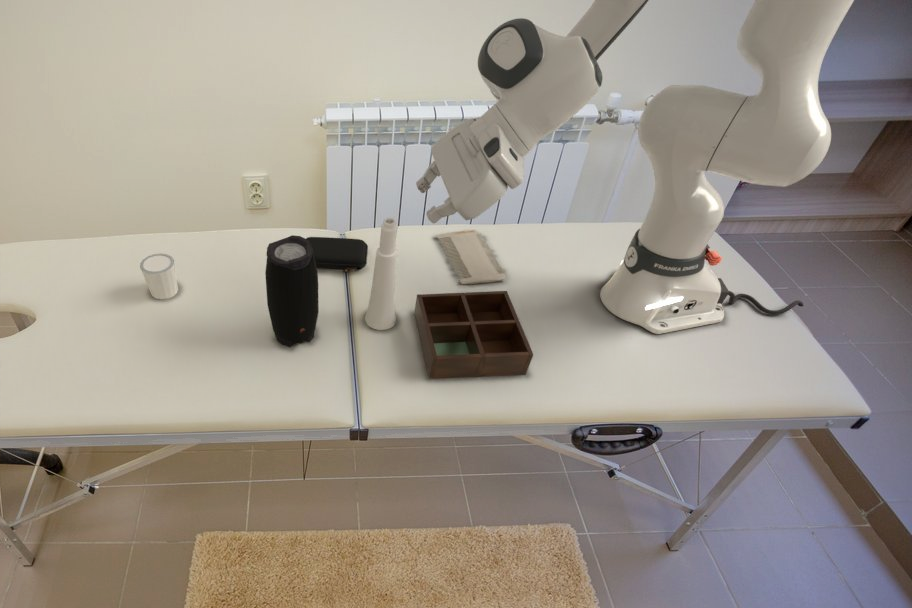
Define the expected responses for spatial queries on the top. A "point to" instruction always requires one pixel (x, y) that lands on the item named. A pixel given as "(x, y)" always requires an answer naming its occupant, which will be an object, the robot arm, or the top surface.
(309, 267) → the portable speaker
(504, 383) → the top surface
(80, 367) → the top surface
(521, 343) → the organiser
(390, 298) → the cosmetic bottle
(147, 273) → the shot glass
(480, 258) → the grooming comb
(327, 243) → the carrying case
